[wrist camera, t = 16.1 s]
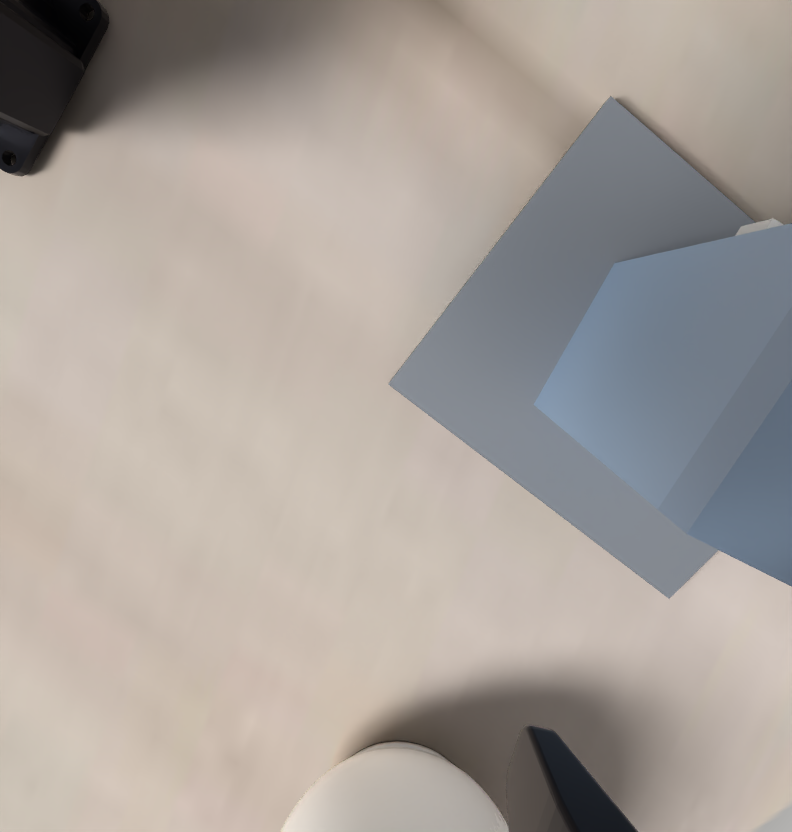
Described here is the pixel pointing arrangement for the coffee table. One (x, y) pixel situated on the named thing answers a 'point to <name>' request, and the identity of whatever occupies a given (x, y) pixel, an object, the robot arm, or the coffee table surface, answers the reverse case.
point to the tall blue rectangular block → (693, 389)
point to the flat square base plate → (567, 330)
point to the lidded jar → (395, 795)
